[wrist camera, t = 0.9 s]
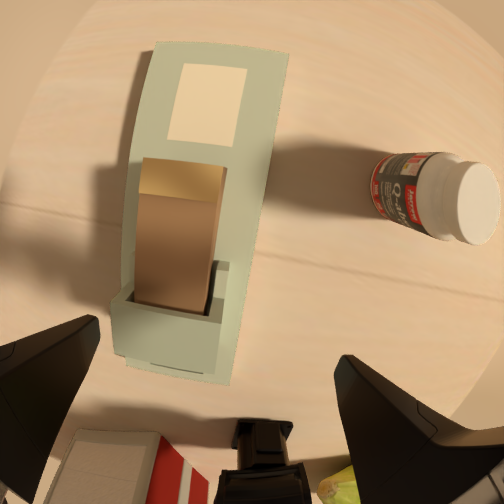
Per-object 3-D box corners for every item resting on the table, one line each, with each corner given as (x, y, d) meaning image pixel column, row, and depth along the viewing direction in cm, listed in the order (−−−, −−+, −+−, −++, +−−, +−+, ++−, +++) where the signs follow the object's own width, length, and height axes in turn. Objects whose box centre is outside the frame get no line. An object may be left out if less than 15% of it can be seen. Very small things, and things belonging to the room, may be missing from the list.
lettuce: (355, 434, 29) (380, 499, 18) (415, 453, 34) (435, 494, 22) (289, 473, 31) (299, 532, 20) (363, 485, 36) (377, 525, 25)
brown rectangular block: (205, 324, 21) (198, 356, 17) (151, 314, 21) (134, 343, 17) (227, 168, 18) (223, 166, 14) (164, 160, 17) (143, 157, 13)
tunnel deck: (229, 375, 24) (227, 428, 18) (130, 356, 24) (107, 403, 17) (286, 61, 17) (304, 19, 10) (161, 49, 16) (133, 9, 10)
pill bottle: (354, 186, 20) (433, 200, 10) (394, 140, 19) (479, 130, 9) (395, 234, 21) (473, 273, 12) (431, 189, 20) (513, 206, 11)
